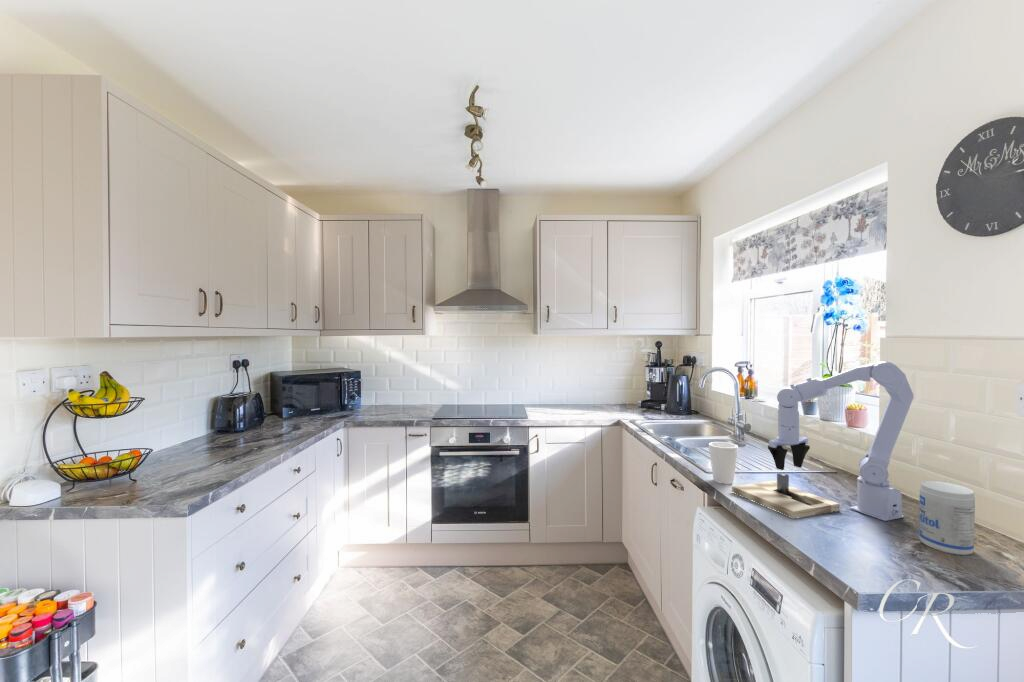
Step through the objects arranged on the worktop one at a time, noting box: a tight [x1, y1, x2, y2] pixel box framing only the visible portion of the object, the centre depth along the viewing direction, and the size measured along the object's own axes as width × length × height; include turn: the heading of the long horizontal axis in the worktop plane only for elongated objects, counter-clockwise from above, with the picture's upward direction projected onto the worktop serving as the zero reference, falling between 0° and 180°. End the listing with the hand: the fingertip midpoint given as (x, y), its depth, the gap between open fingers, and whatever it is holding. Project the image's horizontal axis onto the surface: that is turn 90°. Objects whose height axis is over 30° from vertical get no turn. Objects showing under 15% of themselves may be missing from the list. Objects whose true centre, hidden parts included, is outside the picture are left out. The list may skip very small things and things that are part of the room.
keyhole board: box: [731, 480, 840, 519], centre depth 136 cm, size 22×18×2 cm
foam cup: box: [708, 441, 739, 485], centre depth 155 cm, size 10×9×13 cm
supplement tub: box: [918, 480, 976, 556], centre depth 106 cm, size 10×10×15 cm
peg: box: [776, 472, 794, 500], centre depth 139 cm, size 5×5×8 cm
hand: (788, 467), depth 140 cm, fingers open, 7 cm apart
